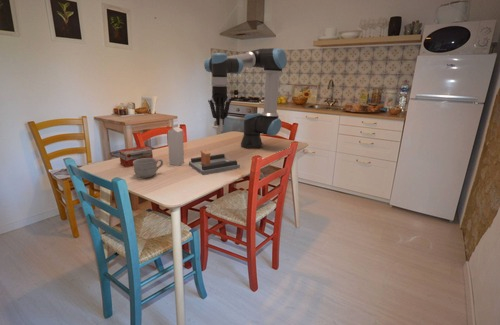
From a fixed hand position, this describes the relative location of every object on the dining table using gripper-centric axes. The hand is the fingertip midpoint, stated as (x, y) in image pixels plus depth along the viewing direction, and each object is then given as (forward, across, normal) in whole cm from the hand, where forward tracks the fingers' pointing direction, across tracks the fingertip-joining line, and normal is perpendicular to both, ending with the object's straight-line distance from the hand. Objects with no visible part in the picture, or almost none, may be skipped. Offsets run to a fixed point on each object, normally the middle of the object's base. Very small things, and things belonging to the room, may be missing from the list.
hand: (220, 131), depth 152 cm
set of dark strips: (+18, +4, 0) cm, 18 cm away
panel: (+20, +4, 0) cm, 20 cm away
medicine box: (+19, +39, -25) cm, 50 cm away
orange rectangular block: (+17, +9, 0) cm, 19 cm away
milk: (+19, +20, -14) cm, 31 cm away
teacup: (+19, +38, -3) cm, 43 cm away
